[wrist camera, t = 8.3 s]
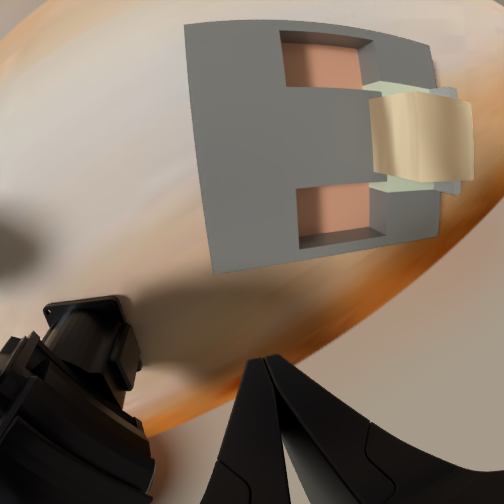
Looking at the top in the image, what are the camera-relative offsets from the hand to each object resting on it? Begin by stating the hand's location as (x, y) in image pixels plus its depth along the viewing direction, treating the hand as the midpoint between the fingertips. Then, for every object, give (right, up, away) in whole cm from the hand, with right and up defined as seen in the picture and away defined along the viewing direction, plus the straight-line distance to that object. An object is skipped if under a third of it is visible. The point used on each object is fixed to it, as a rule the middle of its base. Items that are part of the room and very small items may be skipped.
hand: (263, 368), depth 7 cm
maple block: (+9, +10, +8) cm, 16 cm away
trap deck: (+4, +10, +10) cm, 15 cm away
